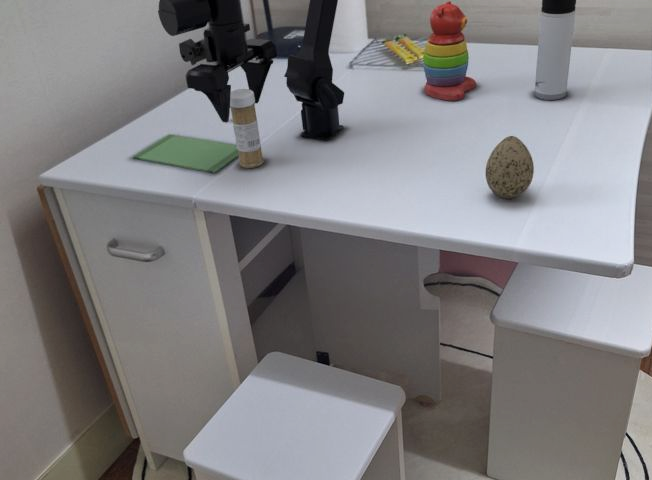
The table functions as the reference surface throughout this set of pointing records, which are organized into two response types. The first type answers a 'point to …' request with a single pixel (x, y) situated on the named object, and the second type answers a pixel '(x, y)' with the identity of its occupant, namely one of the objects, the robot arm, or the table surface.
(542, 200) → the table surface
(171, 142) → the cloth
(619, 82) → the table surface
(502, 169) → the decorative egg
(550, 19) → the travel mug
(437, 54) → the stacking bear
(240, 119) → the sprinkles bottle
